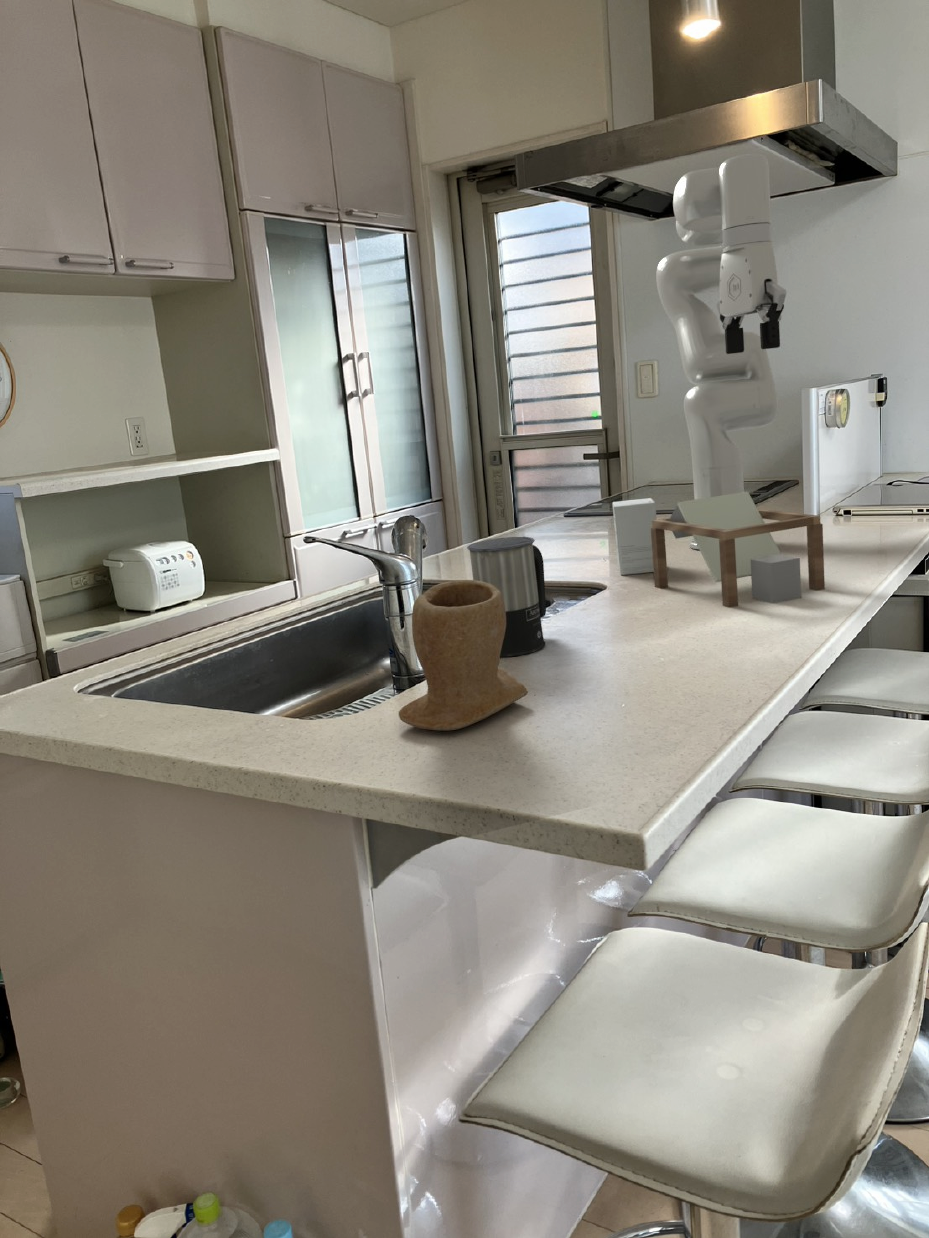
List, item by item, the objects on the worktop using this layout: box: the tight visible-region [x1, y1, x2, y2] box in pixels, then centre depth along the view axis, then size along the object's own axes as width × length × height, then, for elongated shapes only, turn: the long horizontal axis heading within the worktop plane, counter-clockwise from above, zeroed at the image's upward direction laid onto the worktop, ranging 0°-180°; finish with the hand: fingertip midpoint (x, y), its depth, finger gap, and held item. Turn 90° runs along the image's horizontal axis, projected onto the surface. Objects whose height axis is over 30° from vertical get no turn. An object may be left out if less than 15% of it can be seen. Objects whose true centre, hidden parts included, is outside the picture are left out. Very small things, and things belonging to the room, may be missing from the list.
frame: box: [651, 508, 826, 608], centre depth 160 cm, size 22×17×11 cm
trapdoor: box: [669, 491, 783, 583], centre depth 161 cm, size 15×13×5 cm
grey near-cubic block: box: [750, 554, 802, 604], centre depth 150 cm, size 5×5×6 cm
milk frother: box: [466, 536, 547, 658], centre depth 140 cm, size 14×16×15 cm
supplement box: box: [612, 497, 658, 576], centre depth 183 cm, size 7×7×13 cm
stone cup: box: [397, 579, 529, 731], centre depth 109 cm, size 15×12×15 cm
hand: (752, 350), depth 164 cm, fingers open, 9 cm apart
